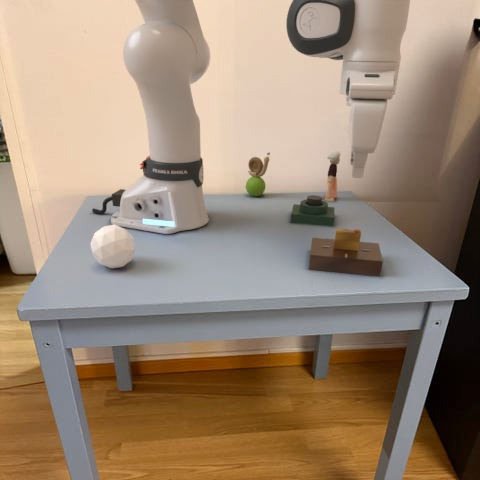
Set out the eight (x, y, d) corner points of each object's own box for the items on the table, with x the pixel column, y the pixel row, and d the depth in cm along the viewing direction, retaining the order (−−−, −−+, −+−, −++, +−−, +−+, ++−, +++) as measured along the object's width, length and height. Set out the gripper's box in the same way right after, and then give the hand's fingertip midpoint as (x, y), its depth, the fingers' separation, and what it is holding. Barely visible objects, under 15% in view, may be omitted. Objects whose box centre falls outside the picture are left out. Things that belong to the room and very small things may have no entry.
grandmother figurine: (339, 203, 122) (345, 154, 116) (324, 202, 122) (330, 153, 116) (334, 195, 129) (340, 148, 122) (320, 194, 129) (326, 147, 122)
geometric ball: (107, 276, 86) (90, 238, 86) (146, 260, 86) (129, 221, 86) (95, 274, 79) (77, 231, 78) (138, 256, 79) (119, 213, 78)
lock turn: (333, 248, 86) (336, 229, 84) (333, 246, 87) (336, 227, 85) (358, 251, 85) (361, 232, 83) (357, 248, 87) (361, 229, 85)
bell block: (290, 223, 107) (291, 206, 105) (293, 212, 114) (294, 197, 112) (333, 226, 106) (335, 209, 104) (333, 215, 113) (335, 200, 111)
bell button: (306, 206, 107) (306, 198, 106) (306, 202, 110) (307, 194, 109) (321, 207, 106) (322, 200, 105) (321, 203, 109) (322, 195, 108)
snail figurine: (261, 200, 122) (264, 154, 116) (241, 196, 125) (243, 151, 119) (271, 196, 126) (274, 151, 120) (251, 192, 129) (253, 148, 123)
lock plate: (308, 269, 85) (310, 253, 83) (310, 251, 93) (312, 236, 91) (379, 276, 83) (383, 260, 81) (376, 257, 91) (378, 242, 89)
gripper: (346, 78, 82) (337, 157, 89) (350, 85, 65) (338, 183, 72) (382, 79, 81) (370, 159, 88) (395, 87, 64) (379, 186, 71)
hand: (355, 170), depth 80 cm, fingers open, 8 cm apart
